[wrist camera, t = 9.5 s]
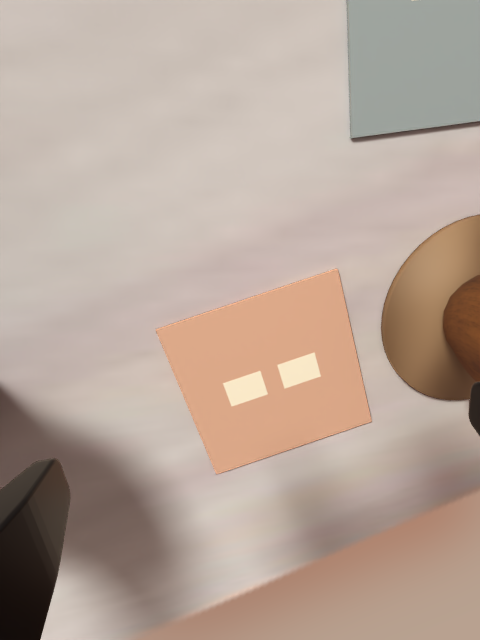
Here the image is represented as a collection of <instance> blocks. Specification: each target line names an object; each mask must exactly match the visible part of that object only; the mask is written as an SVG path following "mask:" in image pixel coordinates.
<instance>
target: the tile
mask: <svg viewBox="0 0 480 640" xmlns="http://www.w3.org/2000/svg"><path fill="white" fill-rule="evenodd" d="M156 332H157V334H158V337H159V339H160V342H161V344H162V346H163V349H164V351H165V353H166V356H167V358H168V360H169V363H170V365H171V368H172V370H173V372H174V375H175V377H176V379H177V382H178V384H179V387H180V389H181V391H182V394H183V396H184V398H185V401H186V403H187V406H188V408H189V410H190V413H191V415H192V417H193V420H194V422H195V425H196V427H197V429H198V432H199V434H200V436H201V439H202V441H203V444H204V446H205V448H206V451H207V453H208V455H209V458H210V460H211V463H212V465H213V467H214V470H215V472H216V474H219V473H222V472H225V471H228V470H231V469H234V468H237V467H240V466H243V465H246V464H249V463H252V462H255V461H257V460H260V459H263V458H266V457H269V456H272V455H275V454H278V453H281V452H284V451H287V450H290V449H293V448H296V447H299V446H301V445H304V444H307V443H310V442H313V441H316V440H319V439H322V438H325V437H328V436H331V435H334V434H337V433H340V432H343V431H346V430H348V429H351V428H354V427H357V426H360V425H363V424H366V423H369V422H372V421H371V416H370V412H369V407H368V403H367V398H366V394H365V389H364V385H363V380H362V376H361V371H360V367H359V362H358V358H357V353H356V349H355V344H354V340H353V335H352V331H351V326H350V322H349V317H348V313H347V308H346V304H345V299H344V295H343V290H342V286H341V281H340V277H339V272H338V269H334V270H331V271H328V272H325V273H322V274H319V275H316V276H313V277H310V278H307V279H304V280H301V281H298V282H295V283H292V284H289V285H286V286H283V287H280V288H277V289H274V290H271V291H268V292H265V293H262V294H259V295H256V296H253V297H250V298H247V299H245V300H242V301H239V302H236V303H233V304H230V305H227V306H224V307H221V308H218V309H215V310H212V311H209V312H206V313H203V314H200V315H197V316H194V317H191V318H188V319H185V320H182V321H179V322H176V323H173V324H170V325H167V326H164V327H161V328H158V329H156Z"/></svg>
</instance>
